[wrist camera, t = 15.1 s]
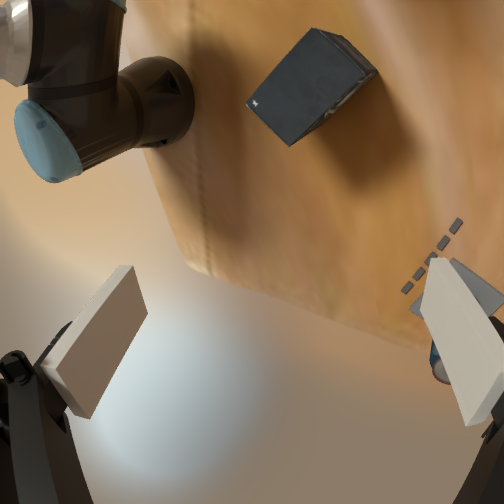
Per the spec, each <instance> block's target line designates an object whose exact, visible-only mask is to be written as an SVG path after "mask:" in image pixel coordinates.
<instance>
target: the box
mask: <svg viewBox="0 0 504 504" xmlns="http://www.w3.org/2000/svg"><path fill="white" fill-rule="evenodd" d="M377 73H378V70H377V69H376V68H375V67H374V66H373V65H372V64H371V63H370V62H369V61H368V60H367V59H366V58H365V57H364V56H363V55H362V54H361V53H360V52H359V51H358V50H357V49H356V48H355V47H354V46H352V44H350V42H349V41H348V40H346V39H345V38H344V37H343V36H341V35H337V34H334V33H330V32H327V31H324V30H320V29H317V28H311V29H310V30H309V31H308V32H307V33H306V34H305V35H304V36H303V37H302V38H301V39H300V41H299V42H298V43H297V44H296V45H295V46H294V47H293V48H292V49H291V51H290V52H289V53H288V54H287V55H286V56H285V57H284V58H283V59H282V61H281V62H280V63H279V64H278V65H277V66H276V67H275V69H274V70H273V71H272V72H271V73H270V74H269V76H268V77H267V78H266V79H265V80H264V82H263V83H262V84H261V85H260V86H259V87H258V89H257V90H256V91H255V92H254V93H253V95H252V96H251V97H250V98H249V100H248V101H247V102H246V106H247V107H248V108H249V109H250V110H251V111H252V112H253V113H254V114H255V115H256V116H257V117H258V118H259V119H260V120H261V121H262V122H263V123H264V124H265V125H267V126H268V127H269V128H270V130H271V131H272V132H273V133H275V134H276V135H277V136H278V137H279V138H280V139H281V140H282V141H283V142H284V143H285V144H286V145H287V146H288V147H290V146H291V145H293V144H294V143H296V142H297V141H299V140H300V139H302V138H303V137H304V136H306V135H307V134H309V133H310V132H312V131H313V130H315V129H316V128H318V127H319V126H320V125H322V124H323V123H324V122H325V121H326V120H327V119H328V118H329V117H330V116H331V115H332V114H333V113H334V112H335V111H336V110H338V109H339V108H340V107H341V106H342V105H343V104H344V103H345V102H346V101H347V100H348V99H350V98H351V97H352V96H353V95H354V94H355V93H356V92H357V91H358V90H359V89H360V88H362V87H363V86H364V85H365V84H366V83H367V82H368V81H369V80H370V79H371V78H372V77H373V76H375V75H376V74H377Z"/></svg>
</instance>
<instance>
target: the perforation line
mask: <svg viewBox="0 0 504 504" xmlns="http://www.w3.org/2000/svg"><path fill="white" fill-rule="evenodd" d="M461 223H462V220H460V219H459V218H458V217H457V219H456V220H455V222H454V223H453V225H452V226H451V227H450V229H449V231H451V232H452V233H455V232H456V230H457V229H458V227H459V226H460V225H461ZM449 240H450V238H449V237H447V236H446V235H445V236H444V237H443V238H442V240H441V241H440V242H439V244H438V245H437V248H438V249H440V250H442V249H443V248H444V246H445V245H446V244H447V242H448V241H449ZM436 256H437V254H435V253H434V252H432V253H431V254H430V255H429V257H428V258H427V259H426V260H425V262H424V263H425V264H426V265H428V266H429V265H430V260H431V258H436ZM424 271H425V270H424V269H423V268H421V267H420V268H419V269H418V270H417V272H416V273H415V274H414V275H413V277H412V278H414V279H415V280H418V279H419V277H420V276H421V275H422V274H423V273H424ZM412 286H413V283H411V282H409V281H408V283H407V284H406V285H405V286H404V287H403V289H402V290H401V292H403V293H405V294H406V293H407V292H408V290H409V289H410V288H411V287H412Z"/></svg>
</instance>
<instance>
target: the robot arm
mask: <svg viewBox="0 0 504 504" xmlns="http://www.w3.org/2000/svg"><path fill="white" fill-rule="evenodd" d="M125 5H126V0H8V1H7V2H6V3H5V4H4V5H2V6H0V79H5V80H6V81H8V82H9V83H11V84H12V85H14V86H15V87H19V86H22V85H25V84H28V99H26V100H23V101H22V102H21V103H20V104H19V105H18V106H17V107H16V110H15V116H14V125H15V130H16V135H17V138H18V142H19V144H20V147H21V149H22V151H23V154H24V156H25V158H26V159H27V161H28V163H29V164H30V166H31V167H32V169H33V170H34V171H35V172H36V174H37V175H39V176H40V177H41V178H42V179H43V180H45V181H47V182H50V183H59V182H62V181H64V180H67V179H69V178H72V177H74V176H78V175H80V174H81V173H82V172H84V171H85V170H88V169H90V168H92V167H94V166H96V165H98V164H100V163H101V162H104V161H106V160H108V159H110V158H112V157H114V156H116V155H119V154H121V153H123V152H125V151H127V150H129V149H132V148H159V147H164V146H167V145H169V144H171V143H174V142H176V141H177V140H179V139H180V138H181V137H183V136H184V134H185V133H186V132H187V130H188V129H189V127H190V124H191V122H192V119H193V114H194V94H193V90H192V86H191V83H190V81H189V79H188V77H187V75H186V73H185V72H184V71H183V69H182V68H181V67H180V66H179V65H178V64H177V63H175V62H174V61H173V60H171V59H168V58H166V57H161V56H155V57H148V58H143V59H140V60H138V61H136V62H134V63H133V64H131V65H129V66H127V67H126V68H124V69H123V70H121V71H120V72H118V67H119V56H120V45H121V36H122V27H123V19H124V14H126V11H127V9H126V6H125ZM420 311H421V314H422V316H423V318H424V320H425V322H426V325H427V327H428V329H429V331H430V334H431V336H432V338H433V341H434V343H435V345H436V348H437V350H438V352H439V355H440V357H441V360H442V362H443V365H444V367H445V370H446V372H447V375H448V377H449V380H450V383H451V385H452V388H453V391H454V394H455V396H456V399H457V402H458V405H459V408H460V411H461V414H462V417H463V420H464V423H465V426H466V427H467V426H471V425H475V424H479V423H482V422H484V420H485V419H486V418H487V417H488V415H489V414H490V412H491V414H492V416H493V419H494V420H493V421H492V423H491V424H490V425H489V427H488V428H487V429H486V431H485V432H484V433H483V435H482V436H481V437H482V438H484V436H485V435H486V437H485V439H484V441H483V444H482V446H481V448H480V451H479V453H478V455H477V457H476V459H475V462H474V464H473V466H472V468H471V470H470V472H469V474H468V476H467V478H466V480H465V482H464V484H463V486H462V488H461V490H460V491H459V493H458V495H457V497H456V499H455V500H454V502H453V504H504V324H503V323H502V322H501V321H499V320H498V319H497V318H496V317H494V316H492V317H487V315H486V314H485V312H484V311H483V309H482V308H481V306H480V305H479V303H478V302H477V300H476V299H475V297H474V296H473V294H472V293H471V291H470V290H469V289H468V287H467V286H466V284H465V283H464V281H463V280H462V279H461V277H460V276H459V275H458V273H457V272H456V271H455V269H454V268H453V266H452V265H451V264H450V262H449V261H448V260H447V259H446V258H431V260H430V265H429V270H428V275H427V280H426V285H425V290H424V294H423V299H422V303H421V307H420ZM147 314H148V312H147V310H146V306H145V303H144V300H143V297H142V294H141V290H140V287H139V284H138V281H137V277H136V274H135V270H134V267H133V266H132V265H131V266H119V267H118V268H117V269H116V270H115V271H114V272H113V274H112V275H111V276H110V277H109V278H108V279H107V281H106V282H105V283H104V284H103V285H102V287H101V288H100V289H99V290H98V291H97V292H96V294H95V295H94V296H93V297H92V299H91V300H90V301H89V302H88V303H87V305H86V306H85V307H84V308H83V310H82V311H81V312H80V313H79V315H78V316H77V317H76V318H75V320H74V321H71V322H70V323H68V324H67V325H66V326H64V327H63V328H62V329H61V330H60V331H59V332H58V334H57V335H56V336H55V338H54V339H53V340H52V341H51V343H50V345H48V347H47V348H46V349H45V351H44V352H43V353H42V355H41V356H40V357H39V359H38V360H37V361H36V363H35V364H34V365H33V366H32V365H31V363H30V362H29V360H28V358H27V357H26V355H25V354H24V353H23V352H22V351H19V350H15V351H11V352H10V353H8V354H6V355H5V356H4V357H2V358H1V360H0V373H1V374H2V376H3V377H4V379H0V504H93V501H92V498H91V496H90V493H89V490H88V487H87V484H86V481H85V478H84V475H83V472H82V469H81V466H80V462H79V459H78V456H77V452H76V448H75V445H74V441H73V438H72V433H71V430H70V425H69V421H68V417H67V415H66V413H65V412H64V411H65V409H66V408H67V406H68V407H69V408H70V410H71V411H72V412H73V414H74V415H76V416H79V417H83V418H86V419H90V418H91V416H92V414H93V412H94V411H95V409H96V407H97V405H98V403H99V401H100V399H101V397H102V395H103V393H104V391H105V390H106V388H107V386H108V384H109V382H110V380H111V378H112V377H113V374H114V373H115V371H116V369H117V367H118V366H119V364H120V362H121V360H122V358H123V356H124V355H125V353H126V351H127V349H128V348H129V346H130V344H131V342H132V340H133V339H134V337H135V335H136V333H137V332H138V330H139V328H140V326H141V325H142V323H143V321H144V319H145V318H146V316H147Z"/></svg>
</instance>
